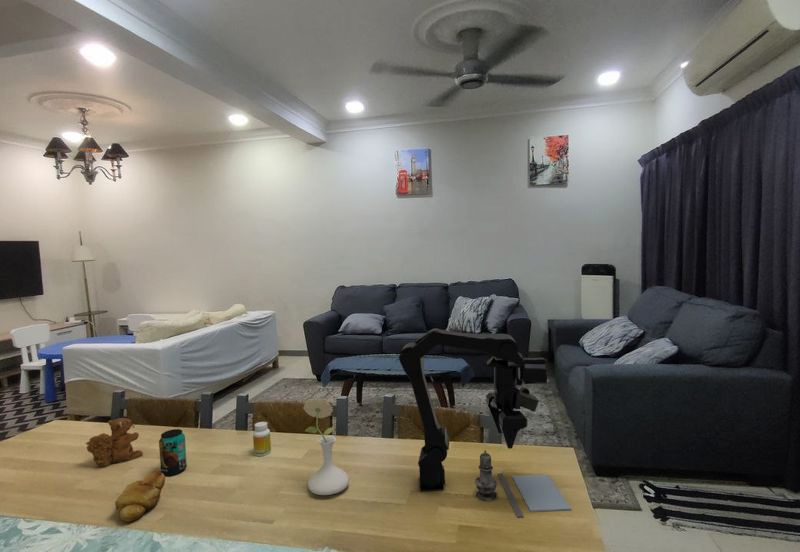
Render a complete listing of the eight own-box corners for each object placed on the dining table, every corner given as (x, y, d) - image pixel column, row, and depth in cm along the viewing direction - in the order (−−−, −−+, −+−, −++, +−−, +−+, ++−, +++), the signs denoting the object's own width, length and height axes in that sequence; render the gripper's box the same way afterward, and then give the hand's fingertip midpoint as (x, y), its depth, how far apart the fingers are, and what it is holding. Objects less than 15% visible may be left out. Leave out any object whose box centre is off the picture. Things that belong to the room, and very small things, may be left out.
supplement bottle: (268, 456, 138) (266, 427, 137) (251, 456, 138) (249, 427, 137) (273, 448, 143) (271, 420, 143) (257, 449, 143) (255, 421, 143)
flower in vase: (357, 481, 120) (353, 394, 119) (334, 503, 110) (330, 408, 109) (319, 473, 126) (315, 390, 124) (294, 493, 115) (289, 403, 114)
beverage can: (155, 474, 129) (153, 436, 128) (175, 464, 135) (173, 427, 134) (172, 478, 126) (169, 439, 125) (192, 467, 132) (189, 429, 132)
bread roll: (141, 525, 104) (139, 493, 104) (101, 527, 104) (99, 495, 104) (169, 495, 117) (167, 467, 116) (134, 497, 117) (132, 468, 116)
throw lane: (517, 517, 101) (517, 516, 101) (497, 474, 121) (497, 473, 121) (574, 515, 101) (574, 513, 101) (545, 472, 121) (545, 471, 121)
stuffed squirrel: (145, 454, 143) (143, 416, 142) (98, 473, 131) (95, 432, 130) (131, 448, 148) (128, 411, 147) (83, 466, 136) (80, 426, 135)
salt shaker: (498, 502, 108) (497, 456, 107) (474, 500, 109) (473, 454, 108) (497, 489, 113) (496, 445, 113) (475, 488, 114) (474, 444, 114)
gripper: (548, 393, 103) (548, 456, 104) (524, 372, 122) (523, 425, 123) (503, 394, 103) (503, 457, 104) (485, 373, 122) (485, 426, 122)
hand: (505, 440), depth 113 cm, fingers open, 9 cm apart
